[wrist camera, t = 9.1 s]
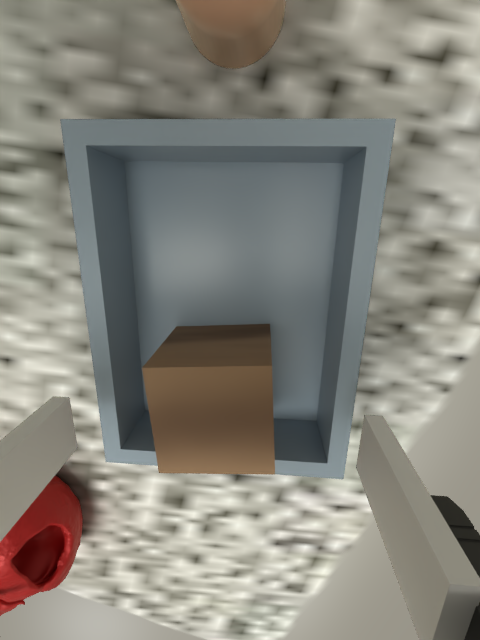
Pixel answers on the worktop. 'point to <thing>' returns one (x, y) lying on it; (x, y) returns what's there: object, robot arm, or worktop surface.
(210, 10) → the terracotta cylinder
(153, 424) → the walnut cube
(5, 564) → the pomegranate
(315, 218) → the tote
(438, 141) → the worktop surface
